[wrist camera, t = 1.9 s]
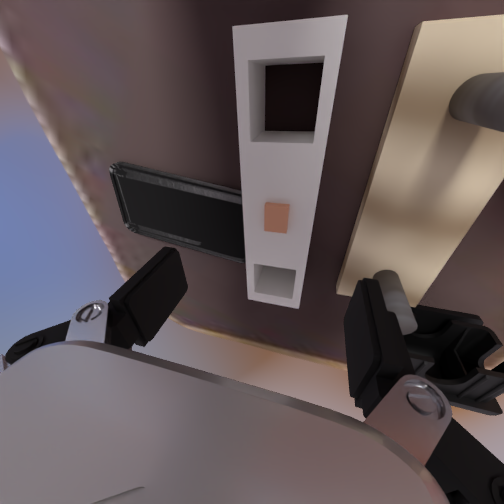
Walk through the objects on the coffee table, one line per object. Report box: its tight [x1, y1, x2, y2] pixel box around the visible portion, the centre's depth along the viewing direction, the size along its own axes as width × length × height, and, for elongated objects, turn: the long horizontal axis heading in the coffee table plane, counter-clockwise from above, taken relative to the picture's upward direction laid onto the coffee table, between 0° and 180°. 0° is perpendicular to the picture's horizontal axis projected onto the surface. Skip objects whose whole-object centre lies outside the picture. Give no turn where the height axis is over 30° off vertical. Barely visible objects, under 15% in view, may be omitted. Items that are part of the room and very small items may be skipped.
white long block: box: [232, 15, 348, 309], centre depth 16 cm, size 19×5×4 cm, turn 1°
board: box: [336, 15, 504, 335], centre depth 14 cm, size 19×7×6 cm, turn 1°
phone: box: [109, 162, 246, 263], centre depth 22 cm, size 8×1×15 cm
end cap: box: [403, 305, 504, 416], centre depth 21 cm, size 10×7×7 cm
